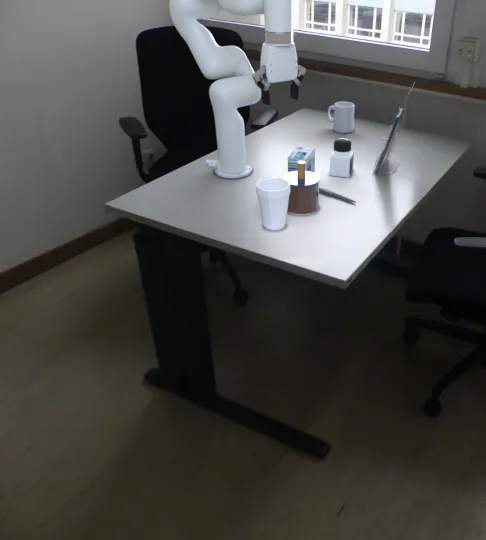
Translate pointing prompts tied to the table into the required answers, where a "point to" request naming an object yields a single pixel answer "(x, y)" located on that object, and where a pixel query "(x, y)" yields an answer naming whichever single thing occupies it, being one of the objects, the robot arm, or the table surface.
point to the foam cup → (273, 201)
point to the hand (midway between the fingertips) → (280, 101)
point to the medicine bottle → (341, 158)
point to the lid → (302, 176)
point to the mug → (342, 117)
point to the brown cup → (303, 199)
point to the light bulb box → (302, 159)
